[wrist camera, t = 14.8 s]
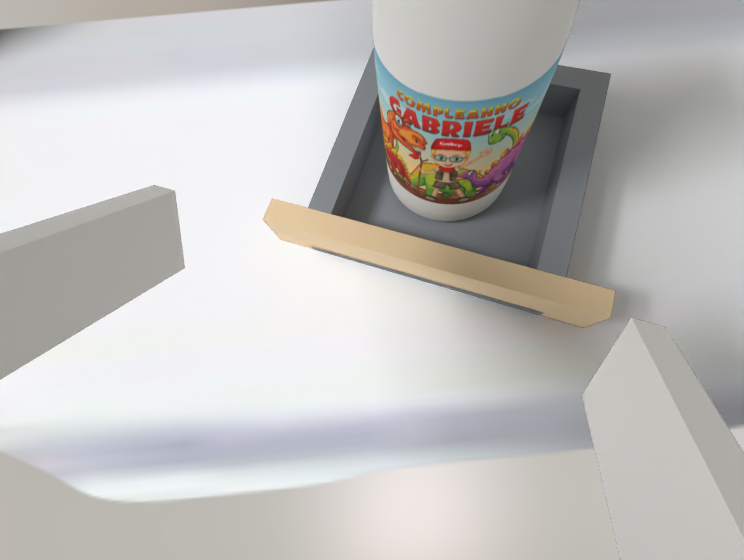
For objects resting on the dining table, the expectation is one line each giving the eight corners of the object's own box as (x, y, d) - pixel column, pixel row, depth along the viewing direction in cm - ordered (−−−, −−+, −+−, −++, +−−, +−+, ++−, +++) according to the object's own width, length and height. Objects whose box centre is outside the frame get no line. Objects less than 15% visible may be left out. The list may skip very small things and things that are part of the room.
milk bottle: (383, 132, 26) (301, -530, 7) (494, 115, 26) (718, -653, 7) (395, 232, 24) (321, -343, 5) (516, 217, 24) (943, -499, 5)
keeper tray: (280, 239, 26) (262, 218, 23) (352, 68, 29) (345, 29, 26) (583, 327, 22) (611, 317, 19) (625, 118, 26) (655, 81, 22)
